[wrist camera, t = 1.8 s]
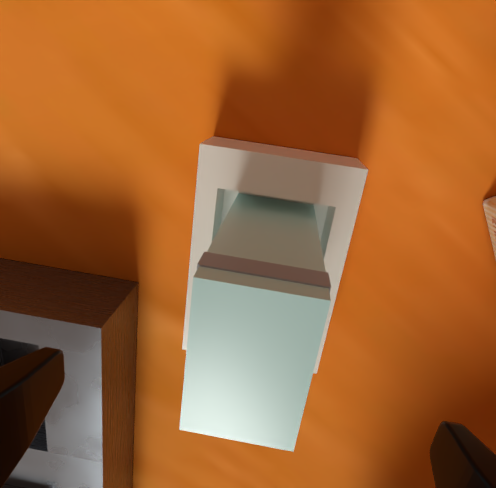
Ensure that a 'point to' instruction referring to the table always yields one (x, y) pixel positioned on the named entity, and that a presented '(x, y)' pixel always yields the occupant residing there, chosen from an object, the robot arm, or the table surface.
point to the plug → (256, 324)
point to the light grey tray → (277, 187)
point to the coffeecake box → (491, 219)
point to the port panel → (75, 372)
